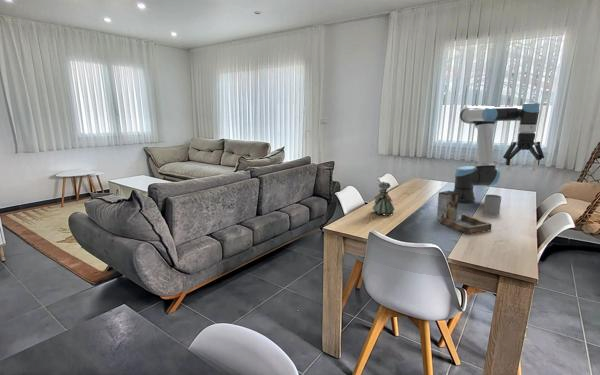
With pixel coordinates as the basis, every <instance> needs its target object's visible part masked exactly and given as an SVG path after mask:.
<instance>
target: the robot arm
mask: <svg viewBox="0 0 600 375" xmlns="http://www.w3.org/2000/svg"><path fill="white" fill-rule="evenodd" d="M540 105H541V104H540V103H539V102H524V103H522V106H507V107H506V106H505V107H504V106H503V107H495V106H492V105H490V106H489V105H481V106H476V105H475V106H468V107H467V106H466V107H464V108H463V109H462V110H461V111H460V113H459V118H460V121H461V122H463V123H465V124H468V125H469V124H470V125H474V127H475V128H476V129H477V159H478V160H477V162H478V164H476V165H475V166H474V165H471V166H470V165H469V166H468V165H467V166H459V167H457V168H456V171H455V176H454V178H455V179H454V185H453V186H454V189H453V190H452V191H453V192H458V193H459V196H458V203H462V204H471V203H472V204H473V203H475V202H476V197H475V191H474V186H476V187H477V186H478V187H479V186H480V187H481V186H482V187H483V186H486V187H489V186H495V185H497V183H498V182H499V180H500V177H501V173H500V172H501V171H500V169H499V168H496V164H495V163H494V160H493V159H494V157H493V156H494V155H493V154H494V152H493V151H494V150H493V148H494V146H493V128H494V126H496V125H495V124H496V123H497V122H504V121H505V122H509V121H510V122H516V121H517V122H518V121H519V127H518V132H519V133H517V134H518V135H517V141H513V140H512V141H510V145H509V147H508V149H507V150H506V152H505V153H504V155H503V156H502V158H503V159H505V160H506V162H505V165H506V172H509V173H511V171H512V164H513V158H514V157H515V156H516V155H517V154H518V153H519V152H520V151H525V150H526V151H529V152H530V153H531V154H532V155H533V157H534V159H533V162H532V168H531V171H533V172H537V171H538V167H539V165H540V161H541V160H542V159H545V155H544V152H543V149H542V146H541V141H538V140H537V141H535V140H536V132H537V125H538V119H539V115H540ZM533 146H535V147H533Z"/></svg>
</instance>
